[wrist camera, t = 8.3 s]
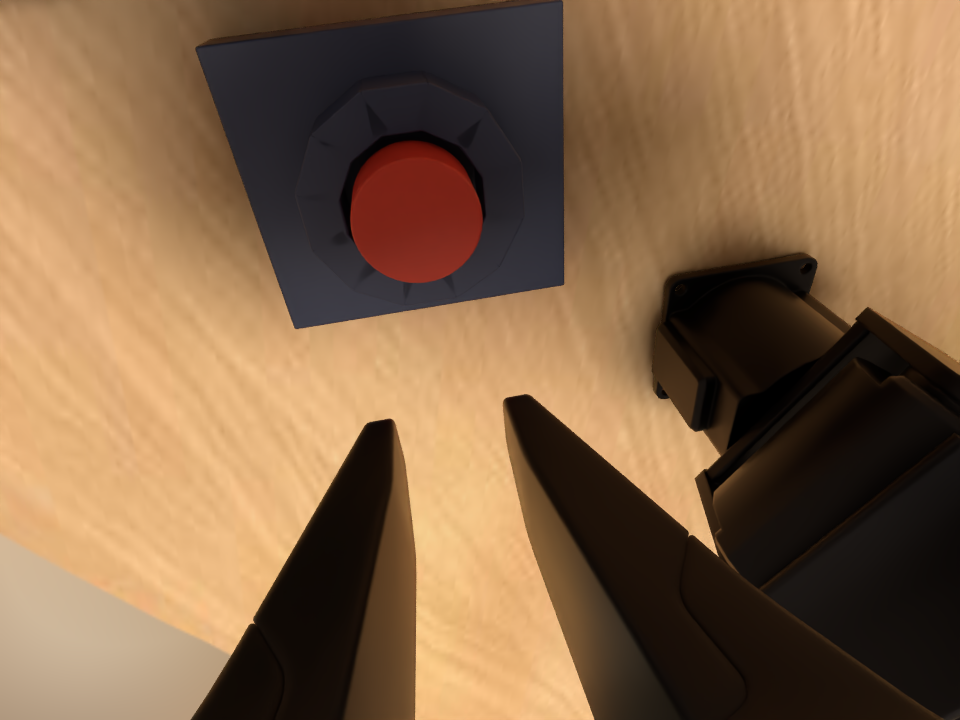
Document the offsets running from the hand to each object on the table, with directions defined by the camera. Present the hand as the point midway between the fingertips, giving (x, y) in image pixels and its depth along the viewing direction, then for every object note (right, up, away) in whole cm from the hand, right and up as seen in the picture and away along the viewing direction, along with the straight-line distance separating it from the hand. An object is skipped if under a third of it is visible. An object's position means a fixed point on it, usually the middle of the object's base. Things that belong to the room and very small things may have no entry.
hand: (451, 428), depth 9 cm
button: (-2, +6, +8) cm, 10 cm away
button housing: (-2, +8, +10) cm, 13 cm away
